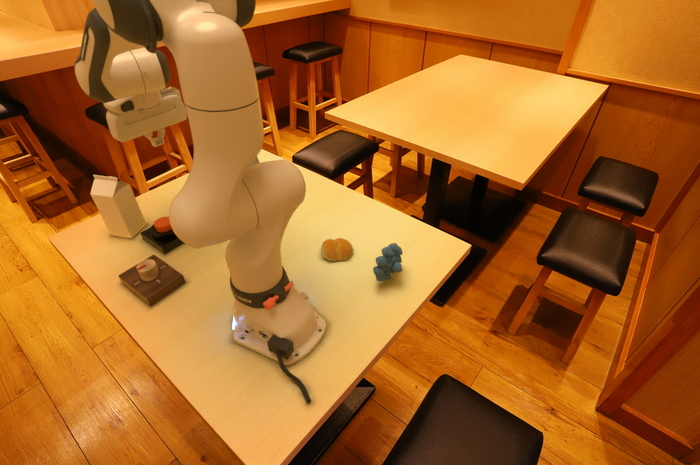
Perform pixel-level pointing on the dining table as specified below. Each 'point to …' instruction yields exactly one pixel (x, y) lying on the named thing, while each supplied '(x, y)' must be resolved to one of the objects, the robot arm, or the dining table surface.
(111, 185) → the milk carton
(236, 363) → the dining table surface
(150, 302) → the dial panel
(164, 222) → the round orange button
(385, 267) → the grapes
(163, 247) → the button base
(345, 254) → the bread roll
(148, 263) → the dial knob
